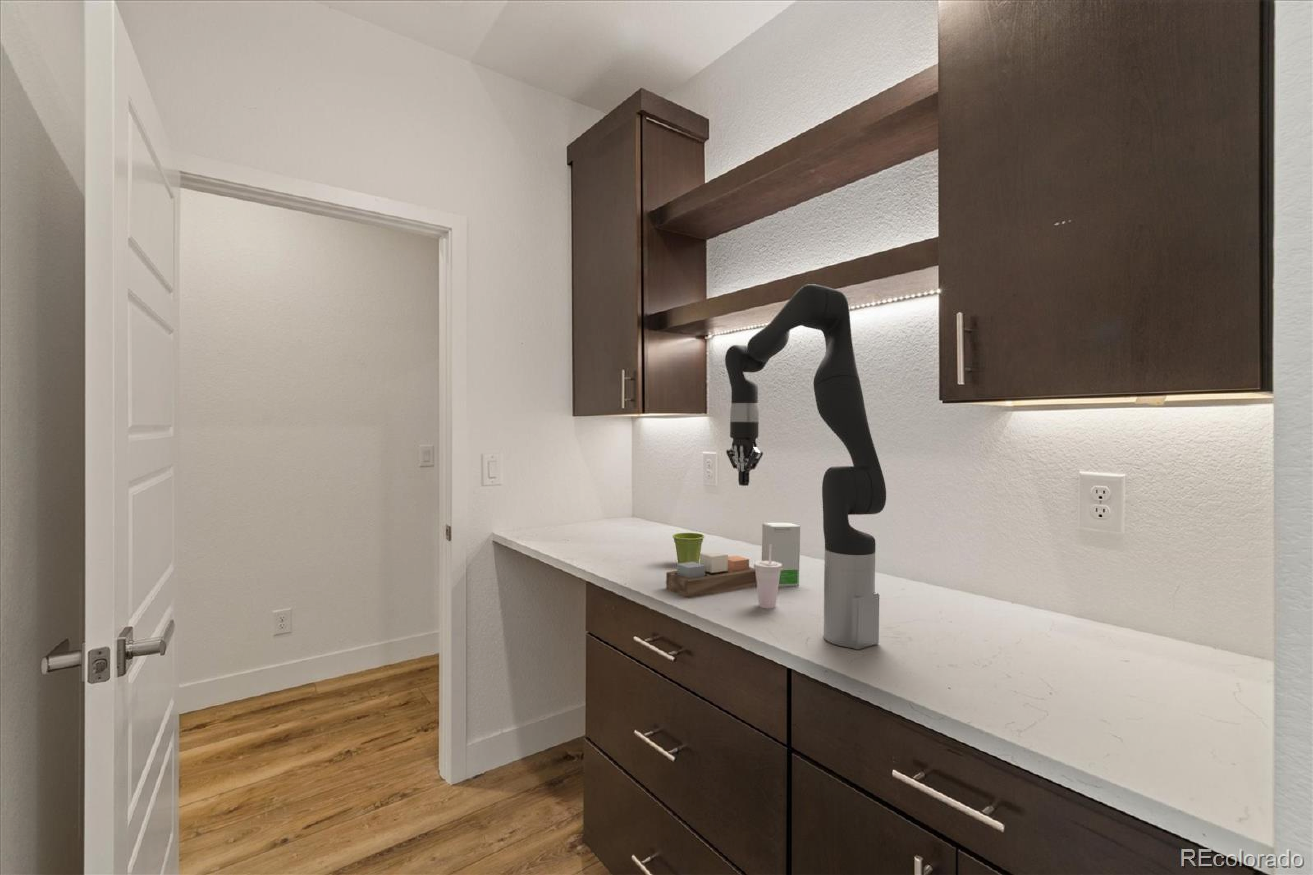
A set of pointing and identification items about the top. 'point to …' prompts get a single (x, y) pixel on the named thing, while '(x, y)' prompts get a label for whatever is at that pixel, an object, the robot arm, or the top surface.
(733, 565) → the key rust
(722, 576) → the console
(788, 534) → the skincare box
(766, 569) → the smoothie
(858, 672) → the top surface
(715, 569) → the key cream
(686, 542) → the plant pot
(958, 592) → the top surface
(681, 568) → the key slate
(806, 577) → the top surface
